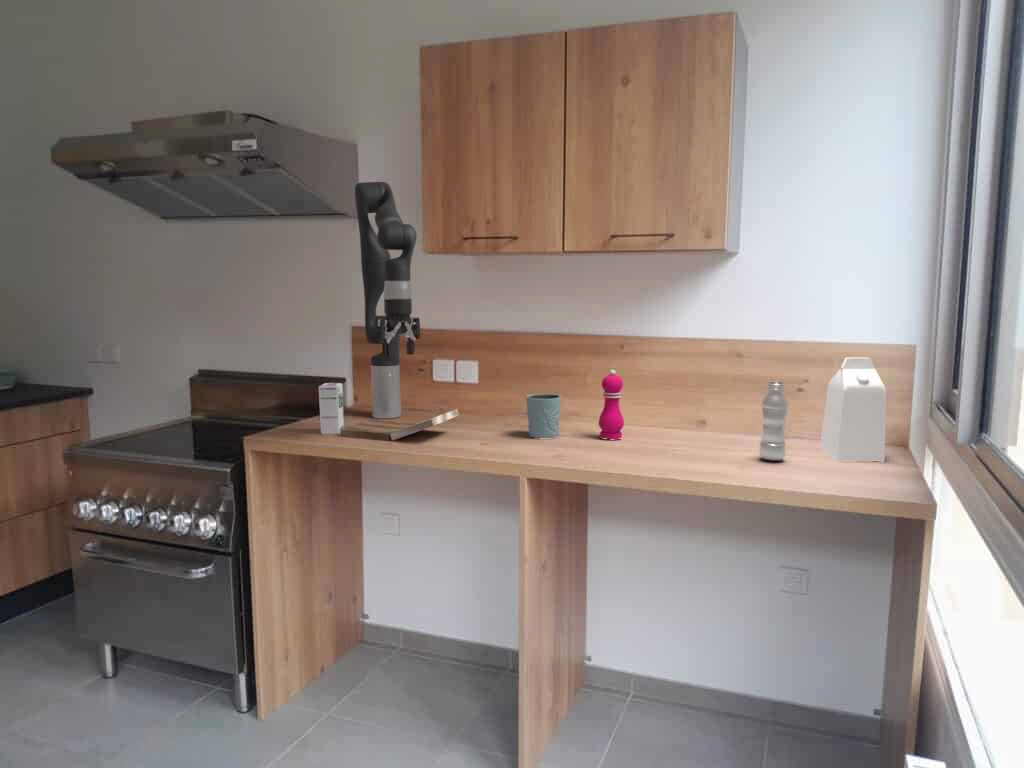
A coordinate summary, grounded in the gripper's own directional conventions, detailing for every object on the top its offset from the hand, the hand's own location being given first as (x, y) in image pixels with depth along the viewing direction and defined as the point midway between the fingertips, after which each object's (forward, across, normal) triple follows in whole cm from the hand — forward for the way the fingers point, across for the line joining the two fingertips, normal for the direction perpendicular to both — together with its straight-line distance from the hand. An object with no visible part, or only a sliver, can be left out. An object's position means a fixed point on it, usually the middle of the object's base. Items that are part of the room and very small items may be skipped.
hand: (398, 355), depth 211 cm
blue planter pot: (+24, -31, +27) cm, 48 cm away
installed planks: (+24, -2, -12) cm, 27 cm away
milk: (+24, -66, +103) cm, 124 cm away
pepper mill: (+24, -42, +43) cm, 65 cm away
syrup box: (+24, +6, -23) cm, 34 cm away
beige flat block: (+21, -8, +3) cm, 23 cm away
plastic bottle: (+24, -48, +89) cm, 103 cm away
